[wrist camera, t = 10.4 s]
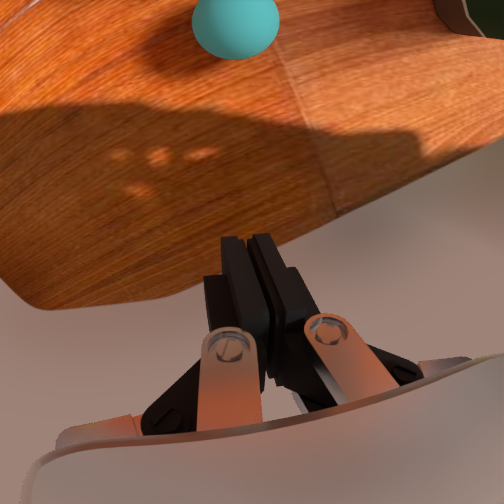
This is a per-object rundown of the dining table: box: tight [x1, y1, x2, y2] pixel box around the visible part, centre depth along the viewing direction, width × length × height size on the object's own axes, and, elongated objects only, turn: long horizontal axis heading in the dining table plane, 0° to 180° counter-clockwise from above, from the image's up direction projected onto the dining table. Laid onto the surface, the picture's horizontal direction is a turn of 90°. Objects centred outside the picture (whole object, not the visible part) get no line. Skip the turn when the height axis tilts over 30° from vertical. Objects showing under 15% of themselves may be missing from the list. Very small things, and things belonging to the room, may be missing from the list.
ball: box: [192, 0, 280, 60], centre depth 18 cm, size 6×6×6 cm
